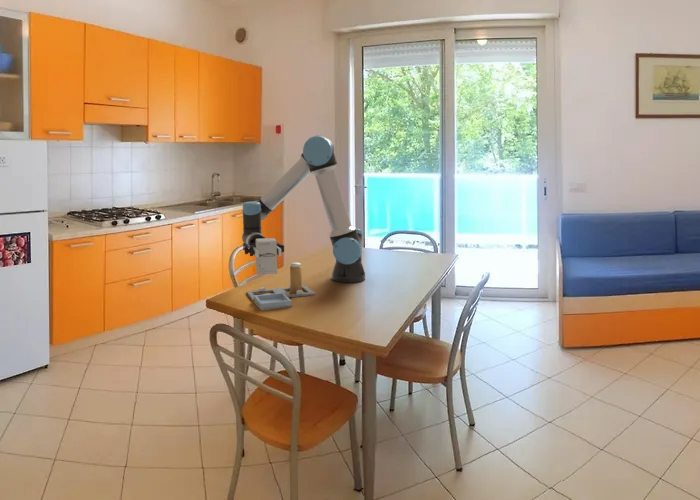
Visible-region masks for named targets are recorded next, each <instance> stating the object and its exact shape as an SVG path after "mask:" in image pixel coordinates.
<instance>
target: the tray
mask: <svg viewBox="0 0 700 500" xmlns="http://www.w3.org/2000/svg"><path fill="white" fill-rule="evenodd" d="M264 294H265V295H264ZM264 294H254V295H255V296H254V301H253V302H254V303H255V305H256V306H257V308H258V309H259V310H260V311H267V310H276V309H286V308H292V300H291V299H290V298H288V297H287V296H286V295H285V294H284V293H275V294H274V293H270V294H269V293H264Z"/></svg>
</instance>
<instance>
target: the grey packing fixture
mask: <svg viewBox="0 0 700 500" xmlns="http://www.w3.org/2000/svg"><path fill="white" fill-rule="evenodd" d="M303 289H304V290H303ZM287 290H288V291H290V286H289V287H280V288H278V287H277V288H268V289H266V288H265V287H258V290H246V294H247V296H248V297H249V299H250V300H251V301H252V302H254V296H255V295H258V294H263V295H265V294H271V293H272V294H275V293H284V294H285V295H286V296H287V297H288V298H289V299H290V297H291V298H297V297H298V298H300V297H307V296H308V295H310V296H315V295H316V293H315V292H314V291H312V289H311V288H310V287H308V286H306V285H302V290H299V291H296V294H291V293H288V292H287ZM303 291H305V292H303ZM299 296H300V297H299Z"/></svg>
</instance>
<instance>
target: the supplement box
mask: <svg viewBox="0 0 700 500" xmlns="http://www.w3.org/2000/svg"><path fill="white" fill-rule="evenodd" d="M277 243H278V241H277V240H276V238H274V237H270V238H268V237H267V238H266V237H265V238H263V239H256V249H257V250H258V252H259V258H256V257H255V261H256V263H255V265H256V266H255V268H256V270H255V271H256V273H257V275H258V276H259V275H277V274H278V262H277V261H278V255H277Z"/></svg>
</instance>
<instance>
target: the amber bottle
mask: <svg viewBox="0 0 700 500" xmlns="http://www.w3.org/2000/svg"><path fill="white" fill-rule="evenodd" d="M302 269H303V267H302V263H301V262H291V263H290V266H289V274H290V277H289V278H290V279H289V280H290V281H289V283H290V284H289V287H290V290H289V292H290V293H289V294H291V293H292V294H296V291H299V290H302V291H303V289H302V286H303V282H302V281H303V279H302V278H303V276H302V275H303V274H302V273H303V272H302V271H303V270H302Z"/></svg>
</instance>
